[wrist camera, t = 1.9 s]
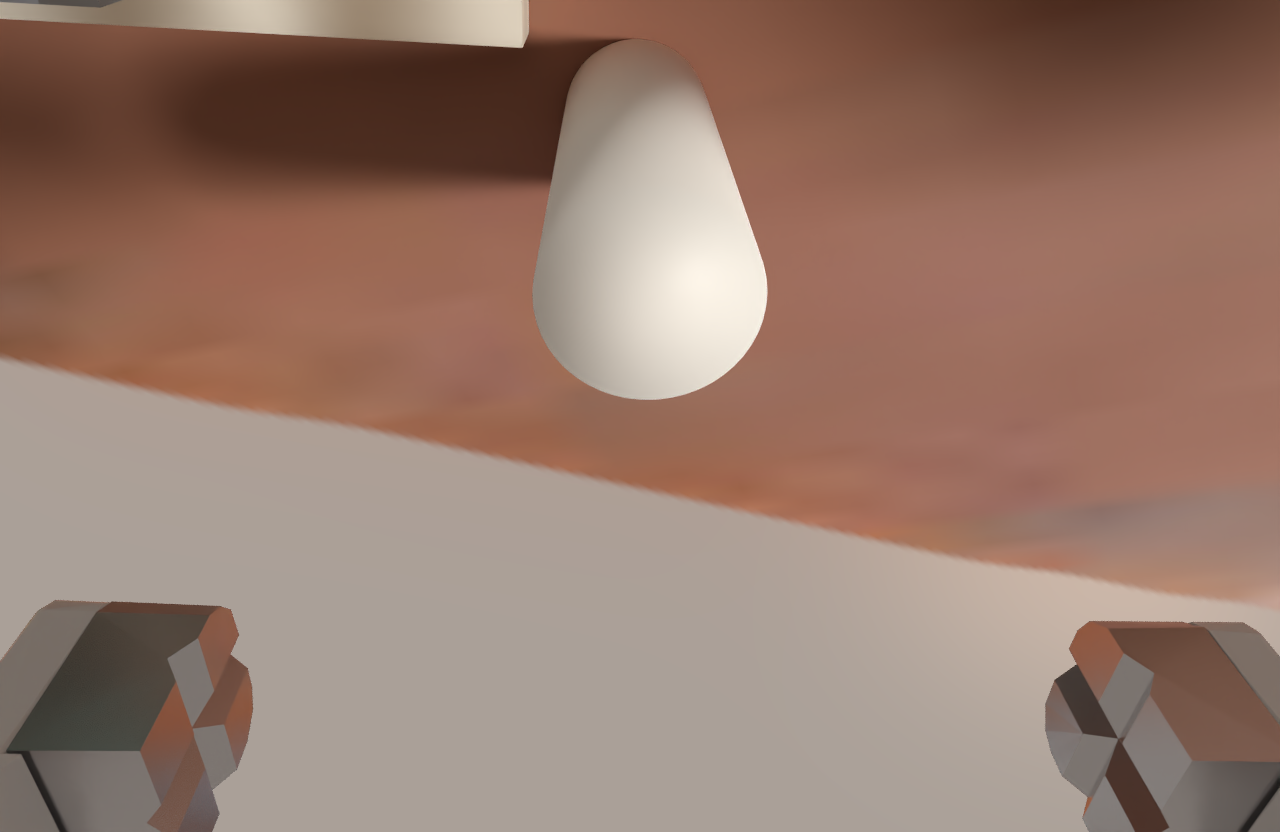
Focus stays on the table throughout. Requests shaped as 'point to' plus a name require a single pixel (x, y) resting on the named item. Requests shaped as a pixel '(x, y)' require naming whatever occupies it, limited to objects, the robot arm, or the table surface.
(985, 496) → the table surface
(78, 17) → the canopy socket
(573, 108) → the peg
